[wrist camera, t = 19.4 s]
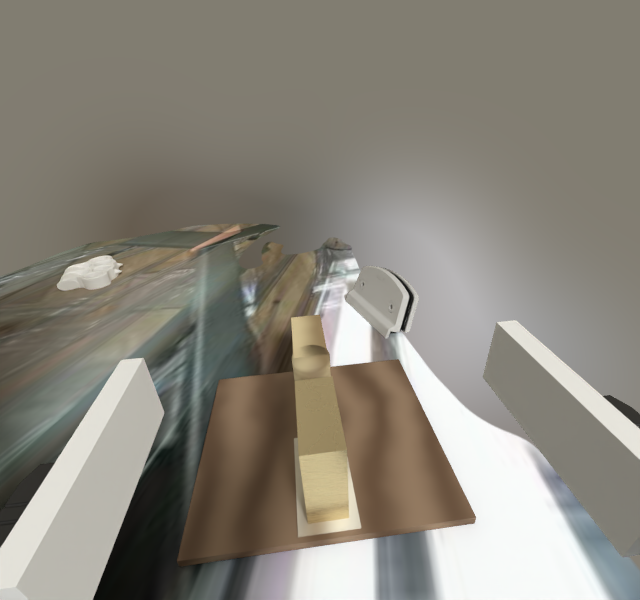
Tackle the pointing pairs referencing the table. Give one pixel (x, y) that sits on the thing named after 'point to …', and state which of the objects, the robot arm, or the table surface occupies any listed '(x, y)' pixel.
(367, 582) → the table surface
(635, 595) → the table surface
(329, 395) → the tan wooden brick
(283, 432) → the mounting board
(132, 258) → the table surface
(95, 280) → the white egg tray
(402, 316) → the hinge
